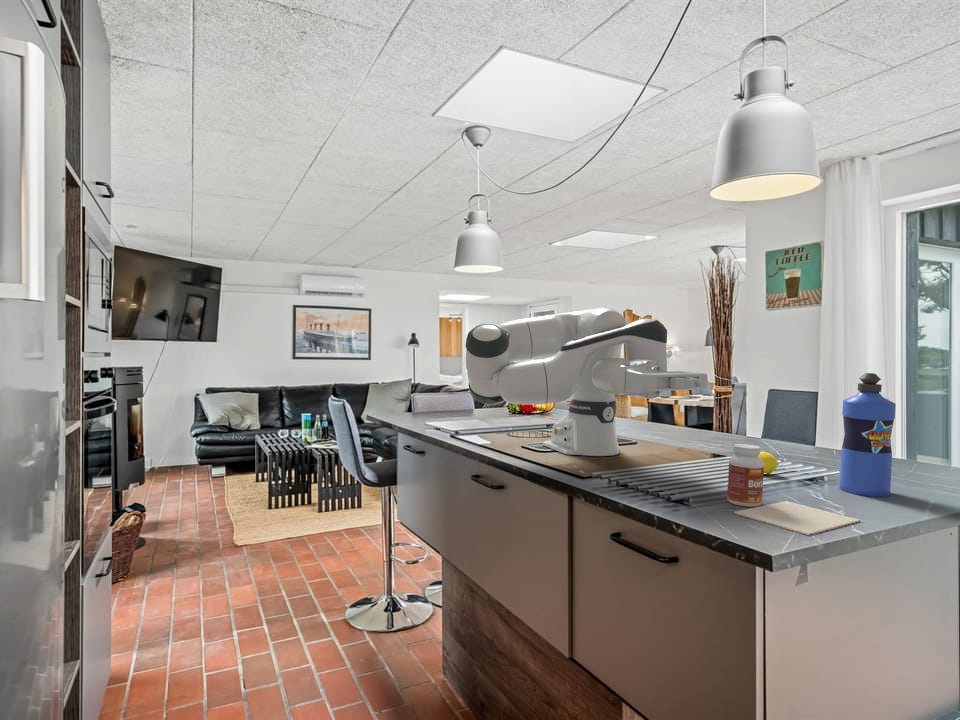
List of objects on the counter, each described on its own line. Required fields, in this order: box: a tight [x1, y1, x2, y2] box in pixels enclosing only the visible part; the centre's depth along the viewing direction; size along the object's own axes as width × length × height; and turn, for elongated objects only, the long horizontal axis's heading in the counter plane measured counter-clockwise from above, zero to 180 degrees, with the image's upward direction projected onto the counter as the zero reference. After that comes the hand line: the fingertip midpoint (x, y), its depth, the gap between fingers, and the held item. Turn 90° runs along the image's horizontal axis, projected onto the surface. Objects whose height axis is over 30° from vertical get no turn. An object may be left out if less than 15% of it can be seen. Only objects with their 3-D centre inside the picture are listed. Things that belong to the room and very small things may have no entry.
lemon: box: [758, 451, 779, 474], centre depth 141 cm, size 7×5×5 cm
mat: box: [733, 500, 861, 536], centre depth 107 cm, size 14×16×1 cm
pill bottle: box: [727, 443, 764, 508], centre depth 115 cm, size 6×6×11 cm
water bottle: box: [839, 372, 897, 498], centre depth 126 cm, size 9×9×25 cm
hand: (696, 383), depth 125 cm, fingers closed
